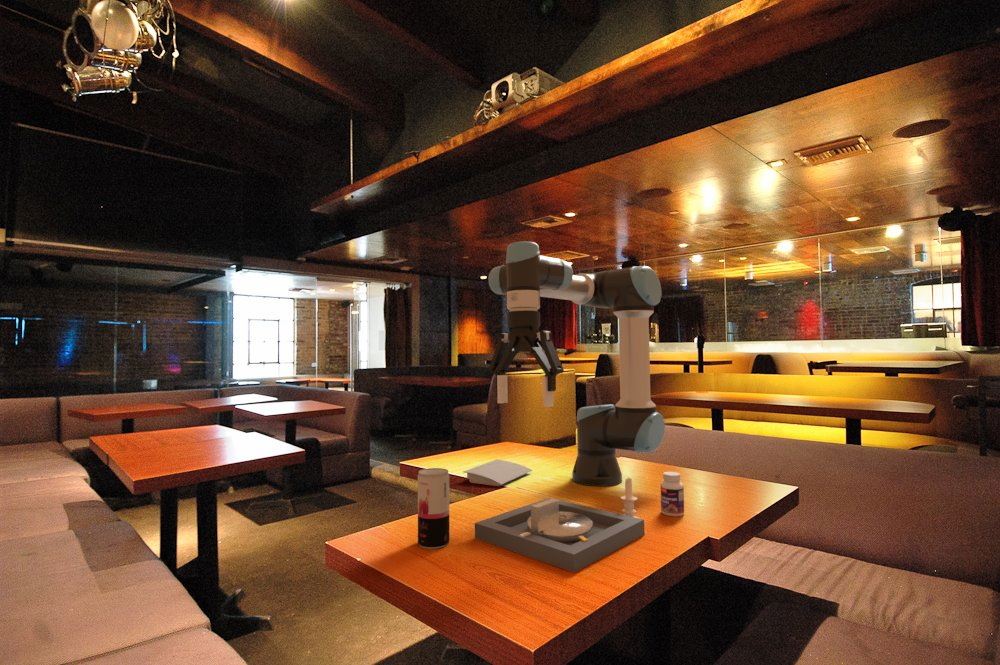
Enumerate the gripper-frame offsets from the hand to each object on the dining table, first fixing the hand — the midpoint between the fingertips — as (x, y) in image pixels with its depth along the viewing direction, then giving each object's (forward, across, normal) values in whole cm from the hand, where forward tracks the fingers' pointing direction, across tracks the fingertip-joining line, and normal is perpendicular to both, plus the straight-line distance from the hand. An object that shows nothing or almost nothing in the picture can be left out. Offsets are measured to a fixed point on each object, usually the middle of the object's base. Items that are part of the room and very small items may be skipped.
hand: (524, 404), depth 116 cm
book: (+29, -39, +31) cm, 58 cm away
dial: (+27, +8, +1) cm, 28 cm away
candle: (+28, +14, +21) cm, 38 cm away
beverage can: (+28, -9, -19) cm, 35 cm away
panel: (+28, +8, +2) cm, 29 cm away
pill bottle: (+28, +19, +33) cm, 47 cm away
